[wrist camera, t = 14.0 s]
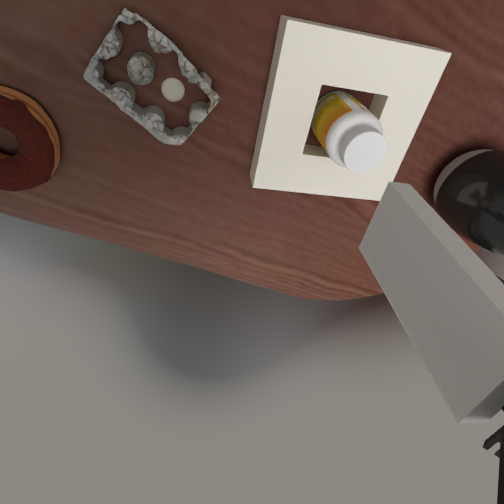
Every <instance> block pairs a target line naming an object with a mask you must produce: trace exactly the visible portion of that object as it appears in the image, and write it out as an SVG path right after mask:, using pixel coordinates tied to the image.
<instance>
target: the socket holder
mask: <svg viewBox="0 0 504 504" xmlns="http://www.w3.org/2000/svg"><path fill="white" fill-rule="evenodd" d="M451 54H452V53H449V52H447V51H444V50H441V49H439V48H436V47H432V46H428V45H423V44H418V43H413V42H409V41H404V40H399V39H394V38H389V37H385V36H380V35H375V34H370V33H365V32H361V31H356V30H351V29H346V28H342V27H337V26H332V25H327V24H322V23H318V22H313V21H308V20H303V19H299V18H294V17H289V16H284V15H281V17H280V22H279V28H278V33H277V38H276V43H275V48H274V53H273V58H272V63H271V68H270V73H269V78H268V84H267V89H266V94H265V99H264V104H263V109H262V114H261V119H260V124H259V129H258V134H257V139H256V145H255V150H254V155H253V160H252V165H251V170H250V179H251V183H252V186H253V188H262V189H272V190H281V191H291V192H300V193H310V194H320V195H329V196H339V197H348V198H358V199H368V200H377V201H380V200H381V198H382V196H383V193H384V191H385V189H386V187H387V185H388V182H393V179H394V177H395V175H396V173H397V171H398V169H399V166H400V164H401V162H402V160H403V158H404V156H405V153H406V151H407V149H408V147H409V145H410V142H411V140H412V138H413V136H414V134H415V132H416V129H417V127H418V125H419V123H420V121H421V119H422V116H423V114H424V112H425V110H426V108H427V106H428V103H429V101H430V99H431V97H432V95H433V93H434V90H435V88H436V86H437V84H438V82H439V80H440V77H441V75H442V73H443V71H444V69H445V67H446V64H447V62H448V60H449V58H450V56H451ZM322 84H323V85H328V86H334V87H340V88H346V89H352V90H358V91H363V92H369V93H375V94H374V96H373V99H372V102H371V105H370V107H369V111H370V112H371V113H372V114H373V115H375V116H376V117H377V119H378V120H379V121H380V123H381V125H382V129H383V136H384V137H385V139H386V141H387V144H388V150H387V154H386V157H385V159H384V160H383V162H382V163H381V164H380V165H379V166H378V167H377V168H376V169H374V170H372V171H370V172H368V173H364V174H357V173H353V172H351V171H350V170H348V169H347V167H342V166H340V165H338V164H336V163H335V162H334V161H333V160H332V159H331V158H330V157H329V155H328V154H327V152H326V151H325V149H324V148H323V146H316V145H308V144H305V143H306V139H307V135H308V132H309V128H310V125H311V121H312V118H313V114H314V111H315V107H316V103H317V100H318V96H319V93H320V89H321V86H322Z"/></svg>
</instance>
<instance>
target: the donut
mask: <svg viewBox="0 0 504 504" xmlns="http://www.w3.org/2000/svg"><path fill="white" fill-rule="evenodd" d="M0 126H3V127H5V128H6V129H8V130H10V131H11V132H12V133H13V134H14V135H15V136H16V138H17V140H18V142H19V144H20V150H19V152H18V153H17V154H15V155H14V156H9V155H5V154H3V153H1V152H0V189H1V190H7V191H15V192H16V191H22V190H27V189H32V188H33V187H37V186H39V185H40V184H43V183H45V182H47V181H48V180H49V179H50V178H51V175H52V174H53V173H54V171H55V170H56V169H57V166H58V164H59V159H60V142H59V137H58V134H57V131H56V129H55V126H54V124H53V123H52V121H51V119H50V118H49V116H48V115H47V114H46V113H45V111H44V110H43V109H42V107H41V106H40V105H39V104H38V103H37V102H35V101H34V100H33V99H31V98H30V97H28V96H26V95H25V94H23V93H21V92H19V91H16V90H14V89H11V88H8V87H4V86H0Z"/></svg>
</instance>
